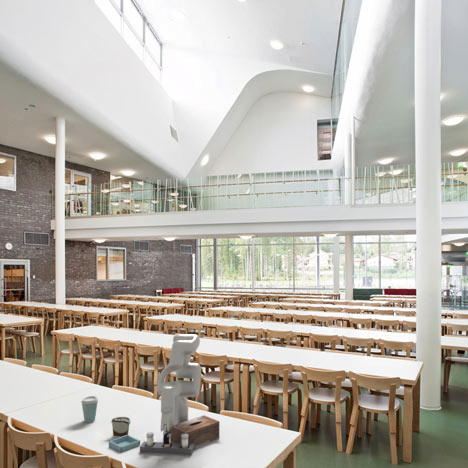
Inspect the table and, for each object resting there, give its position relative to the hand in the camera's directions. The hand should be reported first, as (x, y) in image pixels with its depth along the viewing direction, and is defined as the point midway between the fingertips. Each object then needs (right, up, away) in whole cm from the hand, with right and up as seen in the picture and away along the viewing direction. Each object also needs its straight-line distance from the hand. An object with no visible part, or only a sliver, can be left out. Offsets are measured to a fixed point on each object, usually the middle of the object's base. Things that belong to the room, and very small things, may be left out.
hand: (167, 441), depth 237 cm
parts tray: (-26, -6, +7) cm, 27 cm away
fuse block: (0, -6, -1) cm, 6 cm away
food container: (-31, -8, +24) cm, 41 cm away
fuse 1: (-10, -5, +1) cm, 11 cm away
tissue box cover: (+14, -8, +16) cm, 23 cm away
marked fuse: (0, -5, 0) cm, 5 cm away
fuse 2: (+10, -5, -2) cm, 11 cm away
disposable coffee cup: (-60, -10, +48) cm, 77 cm away
